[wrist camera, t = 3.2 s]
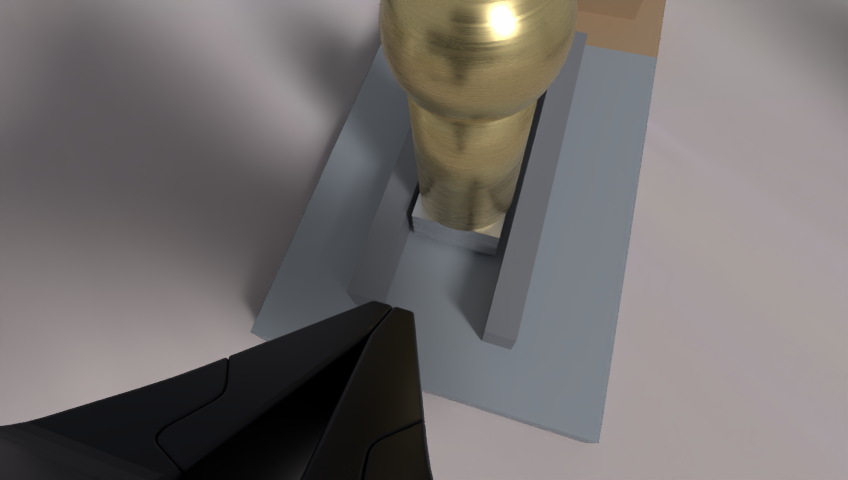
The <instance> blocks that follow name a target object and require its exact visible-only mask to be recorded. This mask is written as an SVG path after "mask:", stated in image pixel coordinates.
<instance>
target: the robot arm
mask: <svg viewBox="0 0 848 480" xmlns="http://www.w3.org/2000/svg"><path fill="white" fill-rule="evenodd" d="M424 423H425V421H424V410H423V400H422V390H421V379H420V369H419V359H418V348H417V338H416V328H415V317H414V313H413V312H412V311H410V310H406V309H403V308H399V307H394V308H393V307H392V306H391V305H389V304H385V303H382V302H378V301H370V302H368V303H365V304H363V305H360V306H358V307H355V308H352V309H350V310H347V311H345V312H342V313H339V314H337V315H334V316H332V317H329V318H327V319H324V320H321V321H319V322H316V323H314V324H311V325H309V326H306V327H303V328H301V329H298V330H296V331H293V332H291V333H288V334H285V335H283V336H280V337H278V338H275V339H273V340H270V341H267V342H265V343H262V344H260V345H257V346H255V347H252V348H249V349H247V350H244V351H242V352H239V353H236V354H234V355H231V356H230V357H229V359H227V358H223V359H221V360H218V361H216V362H213V363H210V364H208V365H205V366H202V367H200V368H197V369H194V370H191V371H189V372H186V373H183V374H180V375H178V376H175V377H172V378H169V379H166V380H163V381H160V382H157V383H153V384H150V385H147V386H144V387H141V388H138V389H135V390H131V391H128V392H125V393H122V394H118V395H115V396H112V397H108V398H105V399H102V400H99V401H95V402H92V403H89V404H85V405H82V406H79V407H76V408H72V409H69V410H66V411H62V412H59V413H56V414H53V415H49V416H46V417H42V418H39V419H35V420H31V421H28V422H23V423H17V424H12V425H5V426H0V480H433V476H432V472H431V467H430V460H429V453H428V446H427V438H426V428H425V424H424Z"/></svg>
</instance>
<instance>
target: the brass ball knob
mask: <svg viewBox="0 0 848 480" xmlns="http://www.w3.org/2000/svg"><path fill="white" fill-rule="evenodd" d="M576 23H577V0H381V1H380V9H379V31H380V39H381V45H382V49H383V52H384V56H385V59H386V61H387V64H388V66H389V68H390V71H391V73H392V74H393V76H394V78H395V80H396V81H397V83H398V84H399V85H400V87H401V88H402V89H403V91H404V92H405V93H406V94H407V98H408V105H409V113H410V121H411V128H412V136H413V143H414V151H415V159H416V166H417V174H418V182H419V189H420V193H419V196H418V199H417V202H416V205H415V207H414V210H413V213H412V221H413V227H414V232H415V235H417V236H420V237H424V238H428V239H432V240H436V241H440V242H443V243H447V244H451V245H455V246H459V247H462V248H466V249H470V250H474V251H478V252H482V253H485V254H489V255H493V256H495V254H496V251H497V247H498V243H499V239H500V236H501V232H502V228H503V224H504V221H505V217H506V213H507V211H508V209H509V207H510V205H511V203H512V200H513V196H514V192H515V188H516V184H517V180H518V176H519V172H520V168H521V164H522V160H523V156H524V152H525V148H526V144H527V140H528V136H529V132H530V128H531V124H532V120H533V116H534V112H535V108H536V104H537V100H538V98H539V97H540V96H541V95H542V94H543V93H544V92H545V91H546V90H547V89H548V88H549V87H550V85H551V84H552V83H553V82H554V80H555V79H556V78H557V76H558V74H559V73H560V71H561V69H562V67H563V66H564V64H565V62H566V60H567V57H568V55H569V52H570V49H571V46H572V43H573V40H574V35H575V30H576Z"/></svg>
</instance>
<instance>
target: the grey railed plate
mask: <svg viewBox="0 0 848 480" xmlns="http://www.w3.org/2000/svg"><path fill="white" fill-rule="evenodd" d="M665 3H666V0H577V23H576V30H575V35H574V40H573V43H572V46H571V49H570V52H569V55H568V57H567V60H566V62H565V64H564V66H563V67H562V69H561V71H560V73H559V74H558V76H557V78H556V79H555V80H554V82H553V83H552V84H551V85H550V87H549V88H548V89H547V90H546V91H545V92H544V93H543V94H542V95H541V96H540V97H539V98H538V100H537V104H536V108H535V112H534V116H533V120H532V124H531V128H530V132H529V136H528V140H527V144H526V148H525V152H524V156H523V160H522V164H521V168H520V172H519V176H518V180H517V184H516V188H515V192H514V196H513V200H512V203H511V205H510V207H509V209H508V211H507V213H506V217H505V221H504V224H503V228H502V232H501V236H500V239H499V243H498V247H497V251H496V254H495V256H493V255H489V254H485V253H482V252H478V251H474V250H470V249H466V248H462V247H459V246H455V245H451V244H447V243H443V242H440V241H436V240H432V239H428V238H424V237H420V236H417V235H415V232H414V227H413V221H412V213H413V210H414V207H415V205H416V202H417V199H418V196H419V193H420V189H419V182H418V174H417V166H416V159H415V151H414V143H413V136H412V128H411V121H410V113H409V105H408V98H407V94H406V93H405V92H404V91H403V89H402V88H401V87H400V85H399V84H398V83H397V81H396V80H395V78H394V76H393V74H392V73H391V71H390V68H389V66H388V64H387V61H386V59H385V56H384V52H383V49H382V45H380V47H379V49H378V51H377V53H376V56H375V58H374V60H373V62H372V64H371V67H370V69H369V71H368V73H367V76H366V78H365V80H364V82H363V84H362V87H361V89H360V91H359V93H358V95H357V98H356V100H355V102H354V104H353V106H352V109H351V111H350V113H349V115H348V117H347V120H346V122H345V124H344V126H343V129H342V131H341V133H340V135H339V137H338V140H337V142H336V144H335V146H334V148H333V151H332V153H331V155H330V157H329V159H328V162H327V164H326V166H325V168H324V171H323V173H322V175H321V177H320V179H319V182H318V184H317V186H316V188H315V190H314V193H313V195H312V197H311V199H310V201H309V204H308V206H307V208H306V210H305V212H304V215H303V217H302V219H301V221H300V224H299V226H298V228H297V230H296V232H295V235H294V237H293V239H292V241H291V243H290V246H289V248H288V250H287V252H286V254H285V257H284V259H283V261H282V263H281V265H280V268H279V270H278V272H277V274H276V277H275V279H274V281H273V283H272V285H271V288H270V290H269V292H268V294H267V296H266V299H265V301H264V303H263V305H262V307H261V310H260V312H259V314H258V316H257V319H256V321H255V323H254V325H253V327H252V330H251V333H253V334H255V335H257V336H258V337H260V338H262V339H264V340H266V341H270V340H273V339H275V338H278V337H280V336H283V335H285V334H288V333H291V332H293V331H296V330H298V329H301V328H303V327H306V326H309V325H311V324H314V323H316V322H319V321H321V320H324V319H327V318H329V317H332V316H334V315H337V314H339V313H342V312H345V311H347V310H350V309H352V308H355V307H358V306H360V305H363V304H365V303H368V302H370V301H378V302H382V303H385V304H389V305H391V306H392V307H393V308H394V307H399V308H403V309H406V310H410V311H412V312H413V313H414V317H415V328H416V338H417V348H418V359H419V369H420V379H421V390H422V391H425V392H428V393H431V394H435V395H438V396H441V397H444V398H447V399H450V400H453V401H456V402H460V403H463V404H466V405H469V406H472V407H475V408H478V409H481V410H485V411H488V412H491V413H494V414H497V415H500V416H503V417H506V418H510V419H513V420H516V421H519V422H522V423H525V424H528V425H531V426H535V427H538V428H541V429H544V430H547V431H550V432H553V433H556V434H560V435H563V436H566V437H569V438H572V439H575V440H578V441H581V442H585V443H599V439H600V432H601V425H602V419H603V412H604V406H605V399H606V392H607V386H608V379H609V373H610V366H611V359H612V353H613V346H614V339H615V333H616V326H617V320H618V313H619V306H620V300H621V293H622V287H623V280H624V273H625V267H626V260H627V254H628V247H629V240H630V234H631V227H632V221H633V214H634V207H635V201H636V194H637V188H638V181H639V174H640V168H641V161H642V154H643V148H644V141H645V135H646V128H647V121H648V115H649V108H650V102H651V95H652V88H653V82H654V75H655V69H656V62H657V55H658V49H659V42H660V36H661V29H662V22H663V16H664V9H665Z"/></svg>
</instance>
